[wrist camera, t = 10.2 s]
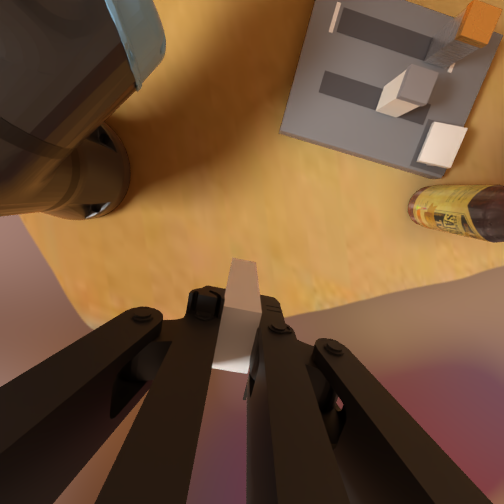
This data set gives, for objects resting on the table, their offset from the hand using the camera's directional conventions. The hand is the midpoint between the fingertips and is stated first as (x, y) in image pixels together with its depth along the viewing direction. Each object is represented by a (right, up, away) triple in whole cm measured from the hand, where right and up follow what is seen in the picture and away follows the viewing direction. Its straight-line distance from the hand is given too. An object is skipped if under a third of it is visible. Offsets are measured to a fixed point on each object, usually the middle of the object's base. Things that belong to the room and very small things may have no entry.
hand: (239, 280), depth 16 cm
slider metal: (+25, +27, +16) cm, 40 cm away
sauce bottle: (+28, +9, +23) cm, 37 cm away
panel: (+19, +24, +19) cm, 36 cm away
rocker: (+26, +16, +19) cm, 36 cm away
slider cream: (+19, +22, +17) cm, 34 cm away
